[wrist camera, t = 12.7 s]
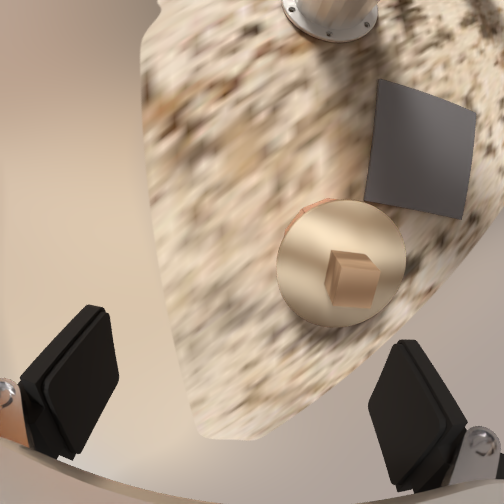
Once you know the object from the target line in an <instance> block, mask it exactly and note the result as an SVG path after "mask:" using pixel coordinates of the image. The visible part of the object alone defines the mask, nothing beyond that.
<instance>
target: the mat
mask: <svg viewBox="0 0 504 504" xmlns="http://www.w3.org/2000/svg"><path fill="white" fill-rule="evenodd" d="M475 124H476V113H475V112H473V111H470V110H468V109H466V108H463V107H461V106H459V105H456V104H454V103H451V102H449V101H446V100H444V99H441V98H438V97H436V96H433V95H430V94H427V93H424V92H422V91H419V90H416V89H413V88H409V87H406V86H403V85H400V84H397V83H393V82H390V81H386V80H383V79H378V88H377V100H376V111H375V121H374V130H373V139H372V147H371V155H370V162H369V169H368V176H367V182H366V189H365V195H364V200H365V201H370V202H376V203H381V204H387V205H392V206H398V207H403V208H408V209H413V210H418V211H423V212H428V213H433V214H438V215H442V216H447V217H451V218H456V219H460V220H462V216H463V211H464V206H465V201H466V196H467V190H468V184H469V178H470V171H471V164H472V156H473V147H474V137H475Z"/></svg>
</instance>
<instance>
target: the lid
mask: <svg viewBox="0 0 504 504" xmlns="http://www.w3.org/2000/svg"><path fill="white" fill-rule="evenodd" d="M405 266H406V250H405V245H404V241H403V238H402V235H401V233H400V231H399V229H398V228H397V226H396V225H395V223H394V222H393V221H392V220H391V219H390V218H389V217H388V216H387V215H386V214H385V213H383V212H382V211H381V210H379V209H377V208H376V207H374V206H372V205H370V204H367V203H365V202H361V201H357V200H349V199H343V200H334V201H329V202H326V203H323V204H320V205H318V206H316V207H314V208H312V209H310V210H309V211H307V212H306V213H304V214H303V215H302V216H301V217H299V218H298V219H297V220H296V221H295V222H294V223H293V225H292V226H291V227H290V228H289V230H288V231H287V233H286V234H285V236H284V238H283V240H282V242H281V245H280V248H279V251H278V256H277V264H276V271H277V281H278V285H279V289H280V291H281V294H282V296H283V298H284V300H285V302H286V303H287V304H288V306H289V307H290V308H291V309H292V310H293V311H294V312H295V313H296V314H297V315H299V316H300V317H301V318H303V319H305V320H306V321H308V322H310V323H313V324H315V325H319V326H323V327H338V328H339V327H347V326H351V325H355V324H358V323H361V322H363V321H365V320H367V319H369V318H371V317H373V316H374V315H376V314H377V313H378V312H380V311H381V310H382V309H383V308H384V307H385V306H386V305H387V304H388V303H389V302H390V301H391V299H392V298H393V297H394V295H395V294H396V292H397V290H398V288H399V286H400V284H401V282H402V279H403V276H404V272H405Z"/></svg>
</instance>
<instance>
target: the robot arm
mask: <svg viewBox="0 0 504 504" xmlns="http://www.w3.org/2000/svg"><path fill="white" fill-rule="evenodd" d="M379 1H380V0H281V3H282V7H283V9H284V12H285V14H286V15H287V17H288V18H289V20H290V21H291V22H292V23H293V24H294V25H295V26H296V27H298V28H299V29H300V30H302V31H303V32H305V33H307V34H308V35H310V36H312V37H315V38H318V39H320V40H324V41H329V42H338V43H340V42H350V41H354V40H357V39H359V38H361V37H363V36H364V35H366V34H367V33H368V32H369V31H370V30H371V29H372V28H373V26H374V25H375V23H376V21H377V17H378V7H377V3H378V2H379ZM290 11H293V12H290ZM365 26H366V27H365ZM327 35H329V36H330V37H328V36H327ZM20 379H21V381H20V382H19V383H18V384H16V383H15V382H14V381H12V380H11V379H6V378H0V504H221V503H213V502H206V501H199V500H193V499H187V498H182V497H176V496H171V495H167V494H162V493H157V492H153V491H149V490H145V489H141V488H137V487H133V486H130V485H126V484H123V483H120V482H116V481H113V480H110V479H107V478H104V477H101V476H98V475H95V474H93V473H90V472H87V471H84V470H81V469H79V468H76V467H73V466H71V465H68V464H66V463H63V462H61V461H58V460H57V458H58V456H59V455H60V456H63V457H65V458H68V459H70V460H72V461H73V459H74V457H75V455H76V453H77V454H80V453H81V452H82V450H83V448H84V446H85V444H86V442H87V440H88V438H89V436H90V434H91V433H92V430H93V429H94V427H95V425H96V423H97V421H98V419H99V417H100V415H101V413H102V411H103V410H104V408H105V406H106V404H107V402H108V400H109V398H110V397H111V395H112V393H113V391H114V389H115V387H116V386H117V384H118V381H119V372H118V366H117V361H116V356H115V349H114V343H113V337H112V329H111V322H110V316H109V314H108V313H106V312H105V309H104V308H103V307H98V306H93V305H86V306H85V307H84V308H83V309H82V310H81V311H80V312H79V313H78V314H77V315H76V316H75V317H74V319H72V320H71V322H70V323H69V324H68V325H67V326H66V327H65V328H64V329H63V330H62V331H61V332H60V333H59V334H58V335H57V336H56V337H55V338H54V339H53V341H52V342H51V343H50V344H49V345H48V346H47V347H46V348H45V349H44V350H43V352H42V353H41V354H40V355H39V356H38V357H37V358H36V359H35V360H34V361H33V363H32V364H31V365H30V366H29V367H28V368H27V369H26V371H25V372H24V373H23V374H22V375H21V376H20ZM368 409H369V413H370V416H371V419H372V422H373V425H374V428H375V431H376V434H377V438H378V441H379V444H380V447H381V450H382V454H383V457H384V460H385V464H386V467H387V470H388V474H389V477H390V481H391V483H392V484H393V485H396V489H397V492H402V491H406V490H411V489H412V488H413V491H414V494H411V495H406V496H401V497H396V498H390V499H384V500H378V501H372V502H365V503H357V504H504V454H502V453H500V450H501V444H500V441H499V438H498V437H497V436H496V434H495V433H494V432H493V431H491V430H490V429H488V428H486V427H482V426H475V427H471V428H470V429H469V430H466V428H465V426H466V424H467V423H468V422H467V420H466V418H465V416H464V415H463V413H462V411H461V410H460V408H459V406H458V405H457V403H456V401H455V400H454V398H453V396H452V395H451V393H450V391H449V390H448V388H447V387H446V385H445V383H444V382H443V380H442V379H441V377H440V376H439V374H438V372H437V371H436V369H435V368H434V366H433V365H432V363H431V362H430V360H429V359H428V357H427V355H426V354H425V353H424V351H423V350H422V348H421V347H420V345H419V344H418V342H417V341H416V340H399V341H398V342H397V344H394V345H393V346H392V349H391V351H390V354H389V356H388V359H387V361H386V363H385V366H384V368H383V371H382V373H381V375H380V378H379V380H378V382H377V384H376V387H375V389H374V391H373V393H372V395H371V397H370V400H369V403H368Z"/></svg>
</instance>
